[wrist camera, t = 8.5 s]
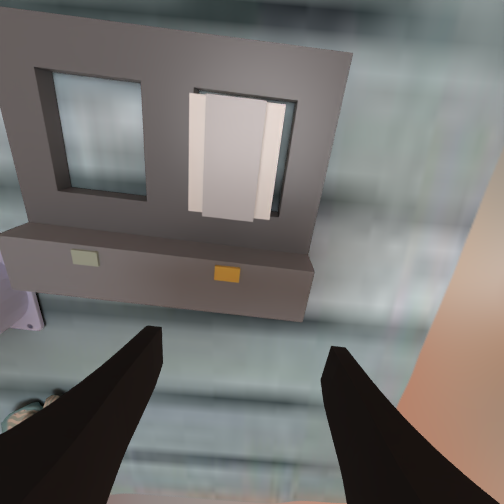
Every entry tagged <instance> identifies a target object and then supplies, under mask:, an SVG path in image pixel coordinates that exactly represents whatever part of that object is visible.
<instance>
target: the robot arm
mask: <svg viewBox="0 0 504 504" xmlns="http://www.w3.org/2000/svg"><path fill="white" fill-rule="evenodd" d="M8 328H16V329H25V330H34V331H40V330H41V329H43V328H44V322H43V319H42V315H41V311H40V308H39V304H38V300H37V297H36V293H35V292H29V291H20V290H12V287H11V283H10V280H9V277H8V274H7V271H6V267H5V264H4V261H3V258H2V255H1V251H0V334H1V333H3V332H4V331H5V330H7V329H8ZM162 364H163V350H162V327H155V326H146V327H145V328H144V329H142V330H141V331H140V332H139V333H138V334H137V335H136V336H135V337H134V338H133V339H131V340H130V341H129V342H128V343H127V344H126V345H125V346H124V347H123V348H121V349H120V350H119V351H118V352H117V353H116V354H115V355H113V356H112V357H111V358H110V359H109V360H108V361H106V362H105V363H104V364H103V365H102V366H100V367H99V368H98V369H97V370H95V371H94V372H93V373H91V374H90V375H89V376H88V377H86V378H85V379H84V380H83V381H81V382H80V383H79V384H77V385H76V386H75V387H73V388H72V389H71V390H69V391H68V392H66V393H65V394H64V395H62V396H61V397H59V398H58V399H56V400H55V401H53V402H52V403H50V404H49V405H47V406H46V407H44V408H43V409H41V410H40V411H38V412H37V413H35V414H33V415H32V416H30V417H29V418H27V419H25V420H24V421H22V422H20V423H19V424H17V425H16V426H14V427H12V428H11V429H9V430H7V431H6V432H4V433H2V434H0V504H106V503H107V500H108V497H109V495H110V492H111V489H112V486H113V484H114V481H115V478H116V475H117V473H118V470H119V467H120V465H121V462H122V459H123V457H124V454H125V452H126V450H127V447H128V445H129V443H130V440H131V438H132V436H133V434H134V432H135V430H136V427H137V425H138V423H139V421H140V419H141V417H142V415H143V412H144V410H145V408H146V406H147V404H148V401H149V399H150V397H151V395H152V393H153V390H154V388H155V386H156V383H157V380H158V377H159V374H160V371H161V368H162ZM321 387H322V395H323V402H324V407H325V411H326V415H327V419H328V423H329V427H330V431H331V435H332V439H333V442H334V446H335V450H336V454H337V458H338V462H339V466H340V470H341V474H342V479H343V484H344V490H345V495H346V501H347V504H499V503H498V502H497V501H496V500H495V499H493V498H492V497H491V496H490V495H488V494H487V493H486V492H484V491H483V490H482V489H481V488H480V487H479V486H477V485H476V484H475V483H474V482H473V481H471V480H470V479H469V478H468V477H467V476H465V475H464V474H463V473H462V472H461V471H460V470H459V469H458V468H456V467H455V466H454V465H453V464H452V463H451V462H449V461H448V460H447V459H446V458H445V457H444V456H443V455H442V454H441V453H440V452H439V451H437V450H436V449H435V448H434V447H433V446H432V445H431V444H430V443H429V442H428V441H427V440H426V439H425V438H424V437H423V436H422V435H421V434H420V433H419V432H418V431H417V430H416V429H415V428H414V427H413V426H412V425H411V424H410V423H409V422H408V421H407V420H406V419H405V418H404V417H403V416H402V415H401V414H400V412H399V411H398V410H397V409H396V408H395V407H394V406H393V405H392V404H391V403H390V401H389V400H388V399H387V398H386V397H385V396H384V395H383V393H382V392H381V391H380V390H379V389H378V387H377V386H376V385H375V384H374V383H373V381H372V380H371V379H370V378H369V377H368V375H367V374H366V373H365V372H364V370H363V369H362V368H361V366H360V365H359V364H358V363H357V361H356V360H355V359H354V358H353V356H352V355H351V354H350V353H349V351H348V350H347V349H346V348H345V347H336V346H331V348H330V352H329V355H328V358H327V361H326V364H325V367H324V371H323V374H322V377H321Z"/></svg>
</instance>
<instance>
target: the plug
mask: <svg viewBox="0 0 504 504" xmlns="http://www.w3.org/2000/svg"><path fill="white" fill-rule="evenodd" d="M285 107H286V105H285V104H277V103H269V102H267V101H265V100H257V99H249V98H241V97H232V96H224V95H216V94H208V93H206V95H203V94H195V93H189V186H188V211H195V212H202V216H205V217H214V218H223V219H231V220H240V221H249V222H253V218H256V219H265V220H270V213H271V206H272V199H273V192H274V185H275V178H276V171H277V164H278V157H279V149H280V142H281V135H282V128H283V121H284V114H285Z"/></svg>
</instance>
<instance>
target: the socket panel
mask: <svg viewBox="0 0 504 504" xmlns="http://www.w3.org/2000/svg"><path fill="white" fill-rule="evenodd" d="M352 56H353V53H349V52H341V51H333V50H326V49H318V48H311V47H303V46H295V45H288V44H280V43H273V42H265V41H258V40H250V39H242V38H235V37H227V36H220V35H212V34H204V33H197V32H189V31H182V30H174V29H166V28H159V27H151V26H144V25H136V24H128V23H121V22H113V21H106V20H98V19H90V18H83V17H75V16H68V15H60V14H53V13H45V12H37V11H30V10H22V9H15V8H7V7H0V108H1V112H2V116H3V120H4V124H5V128H6V132H7V136H8V140H9V144H10V148H11V152H12V156H13V160H14V164H15V168H16V172H17V176H18V180H19V184H20V188H21V192H22V196H23V200H24V204H25V208H26V212H27V216H28V220H29V222H28V223H25V224H23V225H20V226H18V227H15V228H13V229H10V230H7V231H5V232H2V233H0V251H1V255H2V258H3V261H4V264H5V267H6V271H7V274H8V277H9V280H10V283H11V287H12V290H20V291H29V292H38V293H47V294H56V295H65V296H74V297H83V298H92V299H100V300H109V301H118V302H127V303H136V304H145V305H154V306H163V307H172V308H181V309H190V310H199V311H208V312H217V313H225V314H234V315H243V316H252V317H261V318H270V319H279V320H288V321H297V322H303V318H304V314H305V310H306V305H307V301H308V297H309V293H310V289H311V285H312V281H313V277H314V269H313V267H312V264H311V261H310V259H309V256H308V252H309V248H310V243H311V239H312V234H313V230H314V226H315V221H316V217H317V212H318V208H319V203H320V199H321V194H322V190H323V185H324V181H325V176H326V172H327V167H328V163H329V158H330V154H331V150H332V145H333V141H334V136H335V132H336V127H337V123H338V118H339V114H340V109H341V105H342V100H343V96H344V91H345V87H346V82H347V78H348V74H349V69H350V65H351V60H352ZM52 72H57V73H65V74H73V75H81V76H88V77H96V78H104V79H112V80H120V81H128V82H135V83H141V96H142V115H143V134H144V153H145V172H146V191H147V196H141V195H133V194H124V193H116V192H108V191H99V190H91V189H83V188H74V187H71V183H70V177H69V171H68V165H67V159H66V153H65V147H64V141H63V135H62V130H61V124H60V118H59V112H58V106H57V100H56V94H55V88H54V82H53V77H52ZM199 91H206V92H214V93H222V94H229V95H237V96H245V97H253V98H261V99H269V100H276V101H284V102H292V103H295V108H294V114H293V120H292V126H291V133H290V139H289V145H288V152H287V158H286V164H285V170H284V177H283V183H282V189H281V196H280V202H279V208H278V212H275V211H271V213H270V220H265V219H256V218H253V222H249V221H240V220H231V219H223V218H214V217H205V216H202V212H195V211H188V186H189V93H195V94H199Z"/></svg>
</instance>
